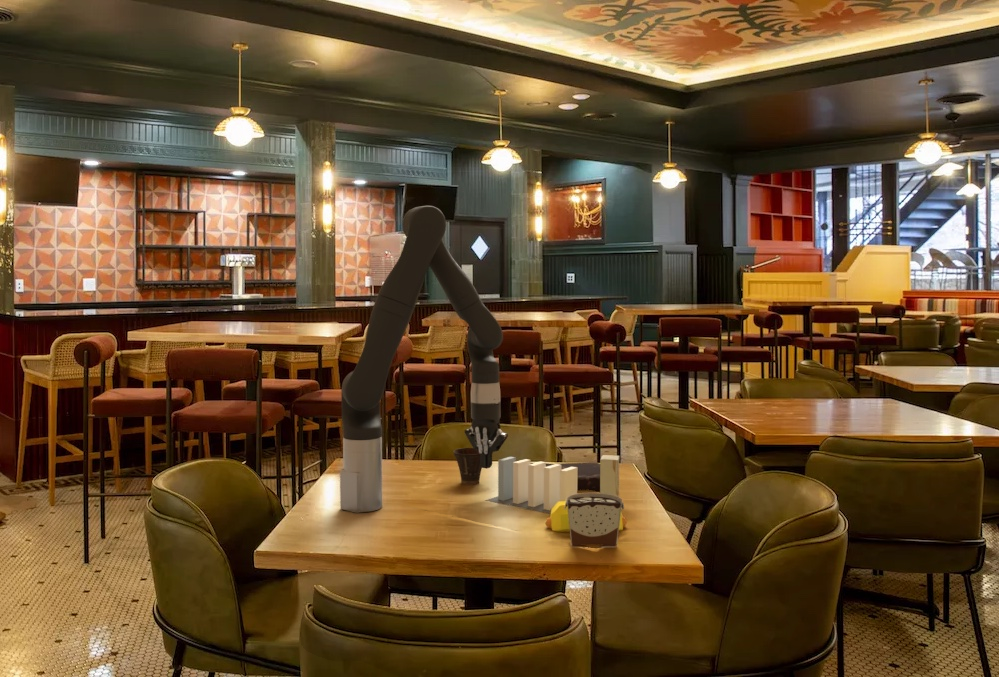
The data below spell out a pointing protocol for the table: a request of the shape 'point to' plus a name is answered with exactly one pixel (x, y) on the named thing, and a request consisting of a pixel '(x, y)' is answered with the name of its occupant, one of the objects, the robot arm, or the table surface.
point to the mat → (520, 505)
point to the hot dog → (561, 521)
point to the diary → (585, 475)
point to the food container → (594, 519)
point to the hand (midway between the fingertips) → (486, 467)
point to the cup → (468, 465)
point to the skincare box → (609, 475)
